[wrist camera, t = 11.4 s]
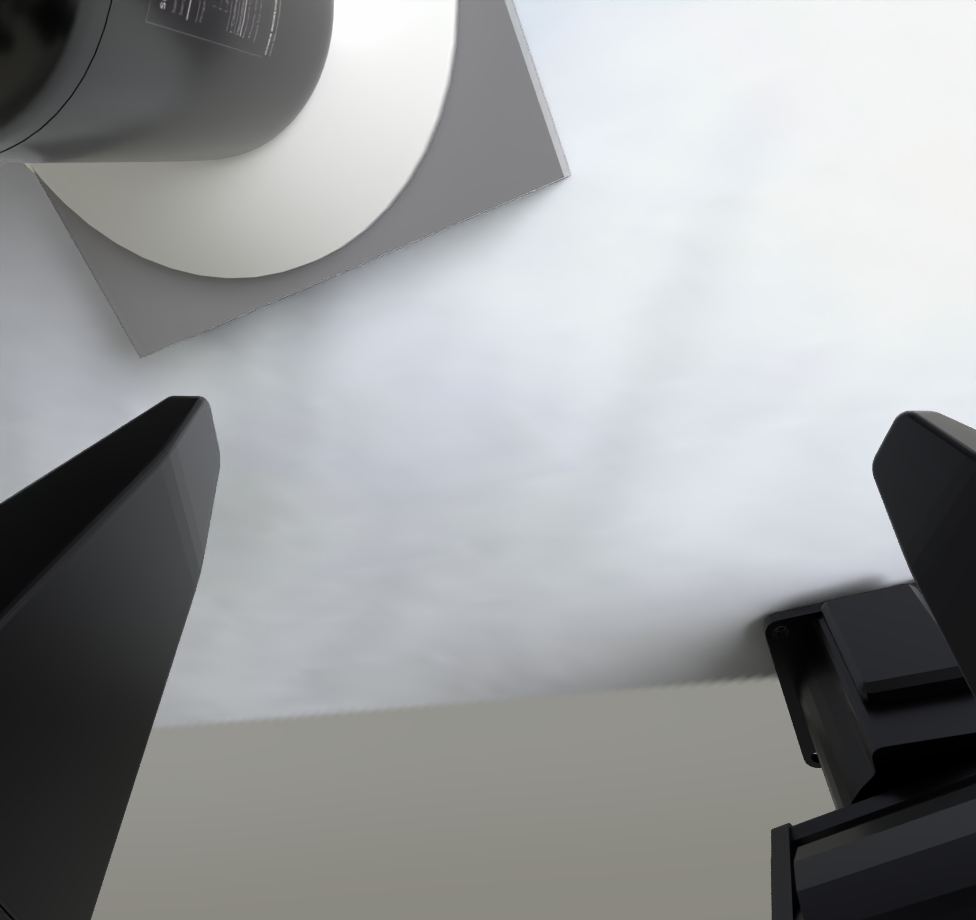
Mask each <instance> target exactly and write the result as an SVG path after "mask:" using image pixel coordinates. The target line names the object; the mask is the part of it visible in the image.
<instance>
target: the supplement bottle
mask: <svg viewBox="0 0 976 920" xmlns="http://www.w3.org/2000/svg"><path fill="white" fill-rule="evenodd" d="M333 20H334V0H0V164H9V163H96V162H182V161H204V160H217V159H224V158H229V157H234V156H238V155H241V154H244V153H247V152H250V151H252V150H254V149H256V148H259V147H261V146H263V145H264V144H266V143H267V142H269V141H270V140H272V139H274V138H275V137H276V136H277V135H279V134H280V133H281V132H282V131H284V130H285V129H286V128H287V127H288V126H289V125H290V124H291V122H292V121H293V120H294V119H295V118H296V117H297V116H298V114H299V113H300V112H301V111H302V109H303V108H304V107H305V105H306V104H307V102H308V100H309V99H310V97H311V96H312V94H313V92H314V90H315V88H316V86H317V84H318V82H319V79H320V77H321V74H322V72H323V69H324V66H325V63H326V59H327V56H328V52H329V47H330V42H331V37H332V29H333Z"/></svg>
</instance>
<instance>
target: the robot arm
mask: <svg viewBox="0 0 976 920" xmlns="http://www.w3.org/2000/svg"><path fill="white" fill-rule="evenodd" d="M219 469H220V451H219V446H218V441H217V436H216V432H215V427H214V422H213V417H212V412H211V408H210V405H209V403H208V401H207V400H206V399H205V398H204V397H201V396H170V397H168V398H166V399H165V400H163V401H161V402H160V403H158V404H157V405H155V406H153V407H152V408H150V409H149V410H147V411H146V412H144V413H142V414H141V415H139V416H138V417H136V418H134V419H133V420H131V421H130V422H128V423H127V424H125V425H123V426H122V427H120V428H119V429H117V430H116V431H114V432H112V433H111V434H109V435H108V436H106V437H104V438H103V439H101V440H100V441H98V442H97V443H95V444H93V445H92V446H90V447H89V448H87V449H85V450H84V451H82V452H81V453H79V454H78V455H76V456H74V457H73V458H71V459H70V460H68V461H67V462H65V463H63V464H62V465H60V466H59V467H57V468H55V469H54V470H52V471H51V472H49V473H48V474H46V475H44V476H43V477H41V478H40V479H38V480H36V481H35V482H33V483H32V484H30V485H29V486H27V487H25V488H24V489H22V490H21V491H19V492H18V493H16V494H14V495H13V496H11V497H10V498H8V499H6V500H5V501H3V502H2V503H0V920H91V917H92V914H93V911H94V907H95V904H96V901H97V898H98V895H99V892H100V889H101V886H102V882H103V880H104V876H105V873H106V870H107V867H108V864H109V861H110V858H111V854H112V851H113V848H114V845H115V842H116V839H117V835H118V832H119V829H120V826H121V823H122V820H123V817H124V814H125V811H126V807H127V804H128V801H129V798H130V794H131V791H132V789H133V785H134V782H135V779H136V776H137V773H138V770H139V767H140V763H141V760H142V757H143V754H144V751H145V748H146V744H147V741H148V738H149V735H150V732H151V729H152V726H153V723H154V720H155V716H156V713H157V710H158V707H159V704H160V701H161V698H162V694H163V691H164V688H165V685H166V682H167V679H168V676H169V672H170V669H171V666H172V663H173V660H174V657H175V654H176V651H177V647H178V644H179V641H180V638H181V635H182V632H183V629H184V625H185V622H186V619H187V616H188V613H189V610H190V607H191V603H192V600H193V597H194V594H195V591H196V587H197V584H198V580H199V577H200V573H201V569H202V564H203V559H204V554H205V548H206V542H207V537H208V531H209V526H210V520H211V514H212V509H213V503H214V498H215V492H216V486H217V481H218V475H219ZM872 471H873V476H874V479H875V482H876V485H877V487H878V490H879V492H880V495H881V498H882V500H883V503H884V505H885V508H886V511H887V513H888V516H889V519H890V521H891V524H892V526H893V529H894V532H895V534H896V537H897V539H898V542H899V545H900V547H901V550H902V552H903V555H904V557H905V560H906V562H907V565H908V567H909V569H910V571H911V574H912V576H913V578H914V580H915V582H916V583H912V584H903V585H898V586H894V587H889V588H885V589H880V590H875V591H871V592H866V593H862V594H857V595H853V596H848V597H843V598H839V599H834V600H830V601H827V602H825V603H820V604H815V605H811V606H806V607H802V608H797V609H792V610H788V611H783V612H779V613H774V614H772V615H769V616H768V617H767V618H766V619H765V620H764V622H763V630H764V633H765V637H766V640H767V643H768V646H769V649H770V653H771V656H772V659H773V662H774V665H775V669H776V672H777V675H778V678H779V681H780V684H781V688H782V691H783V694H784V697H785V700H786V704H787V707H788V710H789V713H790V716H791V720H792V722H793V726H794V729H795V732H796V735H797V739H798V742H799V745H800V748H801V752H802V755H803V758H804V760H805V762H806V763H807V764H808V765H809V766H811V767H815V768H822V770H823V773H824V776H825V779H826V782H827V785H828V787H829V791H830V794H831V796H832V799H833V802H834V805H835V808H836V810H835V811H832V812H830V813H827V814H824V815H821V816H819V817H816V818H813V819H810V820H808V821H805V822H802V823H799V824H797V825H794V826H792V825H791V824H790V823H788V824H785V825H782V826H780V827H777V828H774V829H772V830H771V849H772V850H771V895H772V897H771V898H772V920H976V430H975V429H973V428H971V427H969V426H967V425H964V424H962V423H960V422H958V421H956V420H953V419H951V418H949V417H947V416H945V415H942V414H940V413H937V412H933V411H905V412H903V413H901V414H900V415H899V416H897V417H896V419H895V420H894V422H893V424H892V425H891V427H890V429H889V431H888V433H887V435H886V437H885V438H884V440H883V442H882V444H881V446H880V448H879V450H878V451H877V453H876V455H875V457H874V460H873V466H872ZM779 626H784V627H786V628H785V629H784V630H783V631H781V632H776V631H773V630H774V629H775V628H777V627H779ZM813 753H817V754H813Z"/></svg>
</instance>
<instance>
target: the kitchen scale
mask: <svg viewBox="0 0 976 920" xmlns="http://www.w3.org/2000/svg"><path fill="white" fill-rule="evenodd" d="M23 164H24V165H25V166H26V167H28V168H29V169H30V170H31V171H33V172H34V173H35V174H36V175H37V177H38V179H39V181H40V183H41V184H42V186H43V188H44V190H45V191H46V193H47V195H48V197H49V198H50V200H51V202H52V204H53V205H54V207H55V209H56V211H57V212H58V214H59V216H60V218H61V219H62V221H63V223H64V225H65V226H66V228H67V230H68V232H69V234H70V235H71V237H72V239H73V241H74V242H75V244H76V246H77V248H78V249H79V251H80V253H81V255H82V256H83V258H84V260H85V262H86V263H87V265H88V267H89V269H90V270H91V272H92V274H93V276H94V277H95V279H96V281H97V283H98V285H99V286H100V288H101V290H102V292H103V293H104V295H105V297H106V299H107V300H108V302H109V304H110V306H111V307H112V309H113V311H114V313H115V314H116V316H117V318H118V320H119V321H120V323H121V325H122V327H123V328H124V330H125V332H126V334H127V336H128V337H129V339H130V341H131V343H132V344H133V346H134V348H135V350H136V351H137V353H138V355H139V357H140V358H142V357H145V356H147V355H149V354H152V353H154V352H157V351H159V350H162V349H164V348H166V347H169V346H171V345H174V344H176V343H179V342H181V341H184V340H186V339H188V338H191V337H193V336H196V335H198V334H200V333H203V332H205V331H207V330H210V329H212V328H214V327H217V326H219V325H221V324H224V323H226V322H229V321H231V320H233V319H236V318H238V317H240V316H243V315H245V314H247V313H250V312H252V311H254V310H257V309H259V308H261V307H264V306H266V305H268V304H271V303H273V302H275V301H278V300H280V299H282V298H285V297H287V296H289V295H292V294H294V293H296V292H299V291H301V290H303V289H306V288H308V287H311V286H313V285H315V284H318V283H320V282H322V281H325V280H327V279H329V278H332V277H334V276H336V275H339V274H341V273H343V272H346V271H348V270H350V269H353V268H355V267H357V266H360V265H362V264H364V263H367V262H369V261H371V260H374V259H376V258H378V257H381V256H383V255H385V254H388V253H390V252H393V251H395V250H397V249H400V248H402V247H404V246H407V245H409V244H411V243H414V242H416V241H418V240H421V239H423V238H425V237H428V236H430V235H432V234H435V233H437V232H439V231H442V230H444V229H446V228H449V227H451V226H453V225H456V224H458V223H460V222H463V221H465V220H467V219H470V218H472V217H475V216H477V215H479V214H482V213H484V212H486V211H489V210H491V209H493V208H496V207H498V206H500V205H503V204H505V203H507V202H510V201H512V200H514V199H517V198H519V197H521V196H524V195H526V194H528V193H531V192H533V191H535V190H538V189H540V188H542V187H545V186H547V185H549V184H552V183H554V182H557V181H559V180H561V179H564V178H566V177H568V176H571V173H570V170H569V167H568V164H567V161H566V158H565V155H564V152H563V149H562V146H561V143H560V140H559V137H558V134H557V131H556V128H555V125H554V122H553V119H552V116H551V113H550V110H549V107H548V104H547V101H546V98H545V95H544V92H543V89H542V86H541V83H540V80H539V77H538V74H537V71H536V68H535V65H534V62H533V59H532V56H531V53H530V50H529V47H528V44H527V41H526V38H525V35H524V32H523V29H522V26H521V23H520V20H519V17H518V14H517V11H516V8H515V5H514V2H513V0H334V20H333V29H332V37H331V42H330V47H329V52H328V56H327V59H326V63H325V66H324V69H323V72H322V74H321V77H320V79H319V82H318V84H317V86H316V88H315V90H314V92H313V94H312V96H311V97H310V99H309V100H308V102H307V104H306V105H305V107H304V108H303V109H302V111H301V112H300V113H299V114H298V116H297V117H296V118H295V119H294V120H293V121H292V122H291V124H290V125H289V126H288V127H287V128H286V129H285V130H284V131H282V132H281V133H280V134H279V135H277V136H276V137H275V138H274V139H272V140H270V141H269V142H267V143H266V144H264V145H263V146H261V147H259V148H256V149H254V150H252V151H250V152H247V153H244V154H241V155H238V156H234V157H229V158H224V159H217V160H204V161H182V162H96V163H23Z"/></svg>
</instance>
